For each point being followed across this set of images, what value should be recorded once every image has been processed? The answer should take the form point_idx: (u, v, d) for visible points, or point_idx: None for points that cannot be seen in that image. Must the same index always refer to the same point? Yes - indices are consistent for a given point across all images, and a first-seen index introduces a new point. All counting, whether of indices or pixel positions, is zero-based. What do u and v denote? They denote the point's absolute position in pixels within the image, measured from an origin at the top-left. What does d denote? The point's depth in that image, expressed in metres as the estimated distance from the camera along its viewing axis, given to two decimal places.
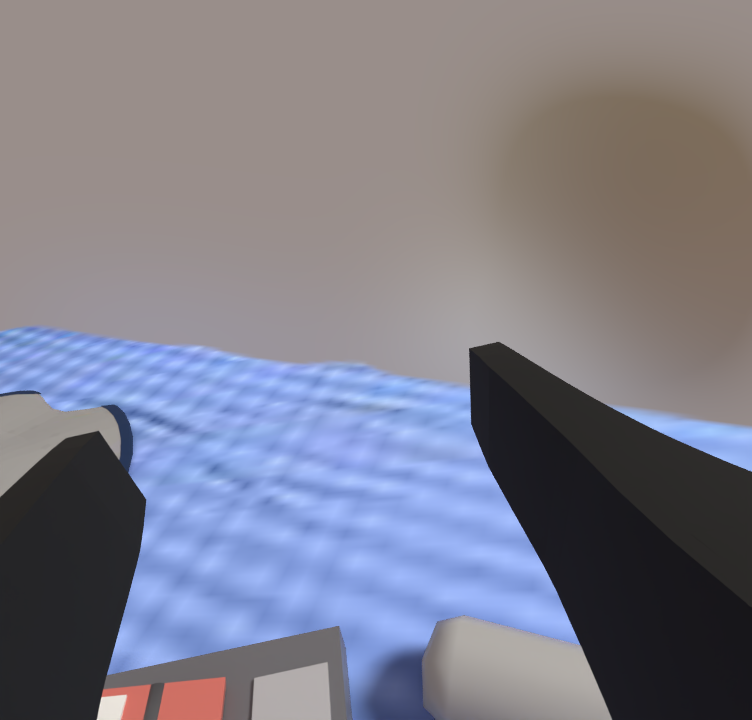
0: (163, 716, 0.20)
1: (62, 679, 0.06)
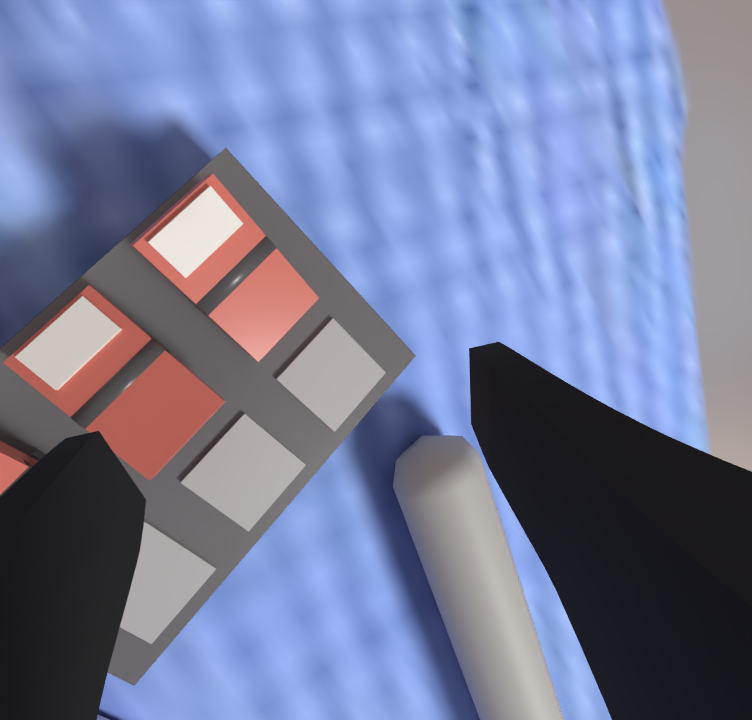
0: (256, 277, 0.17)
1: (62, 679, 0.06)
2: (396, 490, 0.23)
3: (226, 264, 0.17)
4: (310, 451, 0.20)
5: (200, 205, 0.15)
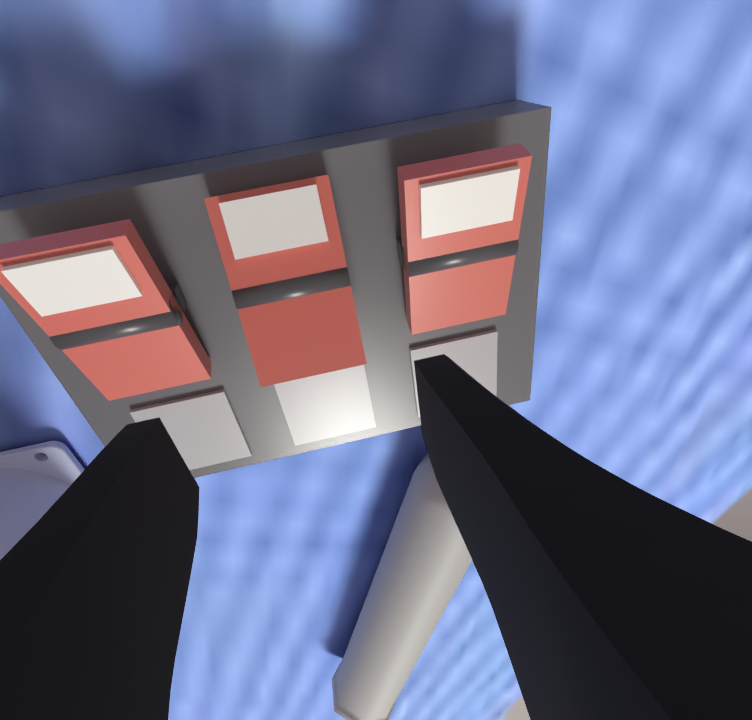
0: (476, 269, 0.15)
1: (141, 659, 0.06)
2: (415, 478, 0.24)
3: (463, 244, 0.14)
4: (387, 418, 0.20)
5: (494, 181, 0.13)
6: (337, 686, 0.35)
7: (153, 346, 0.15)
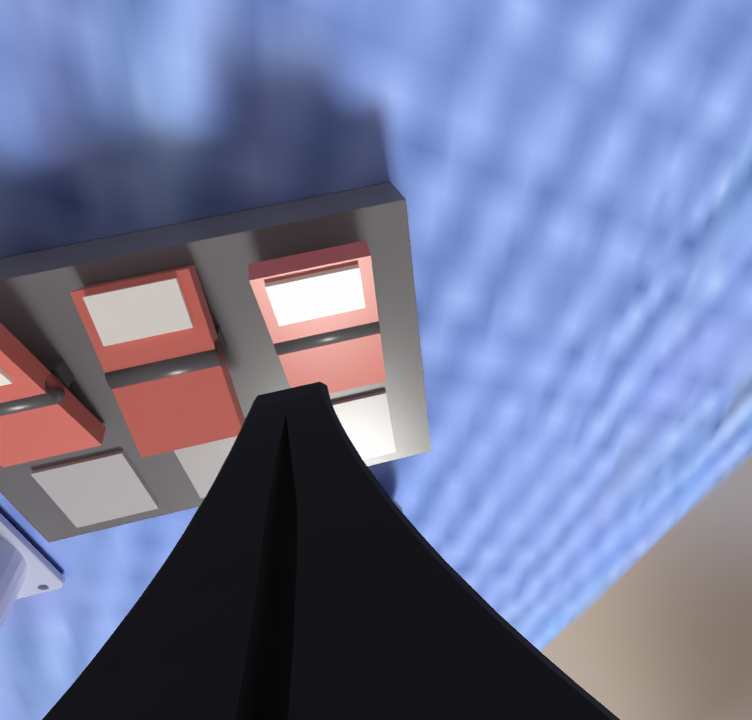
0: (343, 346, 0.16)
1: None
2: None
3: (324, 327, 0.15)
4: None
5: (337, 278, 0.14)
6: None
7: (36, 421, 0.16)
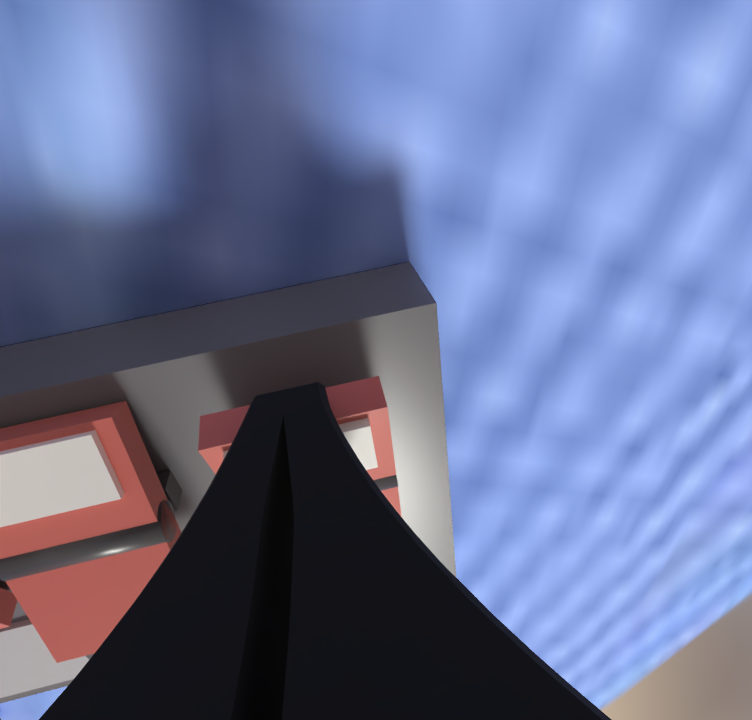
0: None
1: None
2: None
3: None
4: None
5: None
6: None
7: None
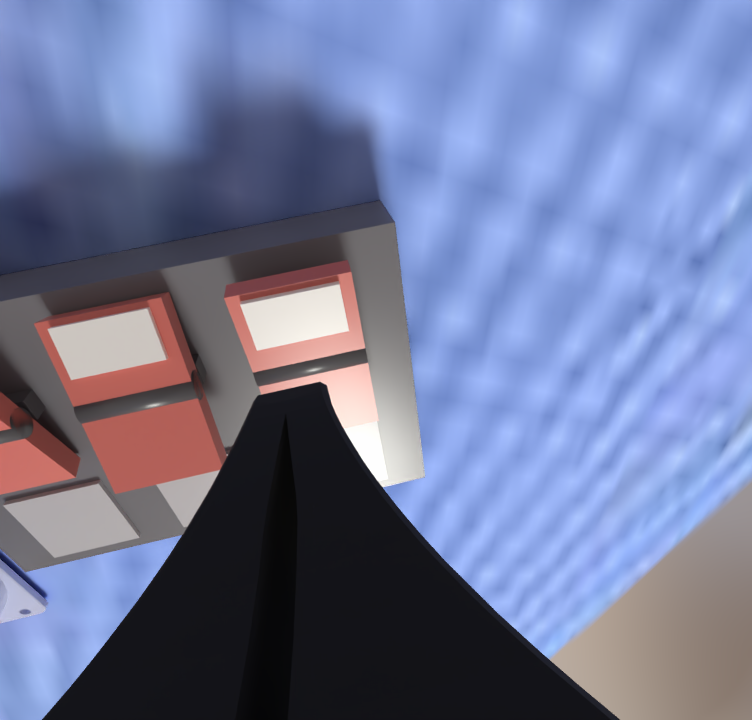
0: (329, 377, 0.15)
1: None
2: None
3: (307, 354, 0.14)
4: None
5: (316, 296, 0.13)
6: None
7: (3, 456, 0.15)
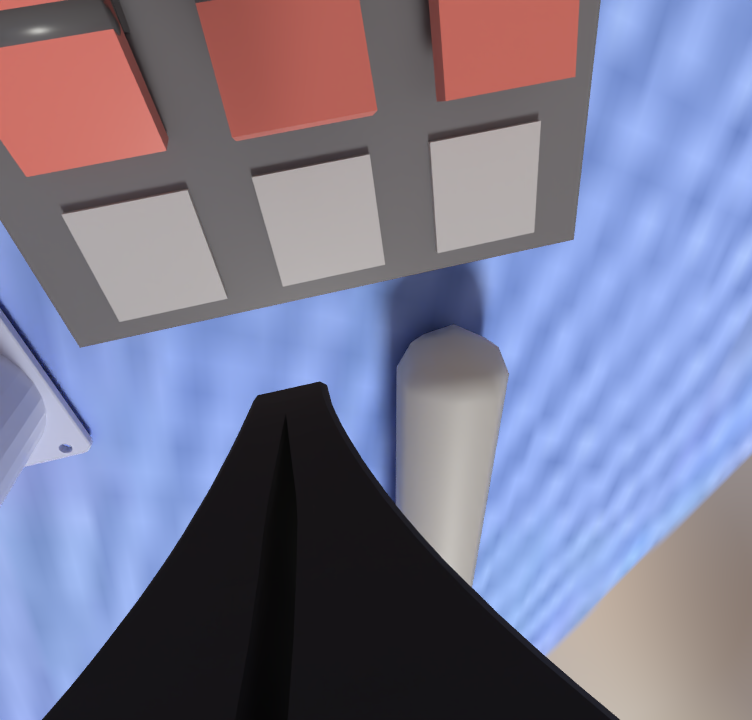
0: None
1: None
2: (398, 372, 0.20)
3: None
4: (398, 254, 0.16)
5: None
6: None
7: (79, 70, 0.10)
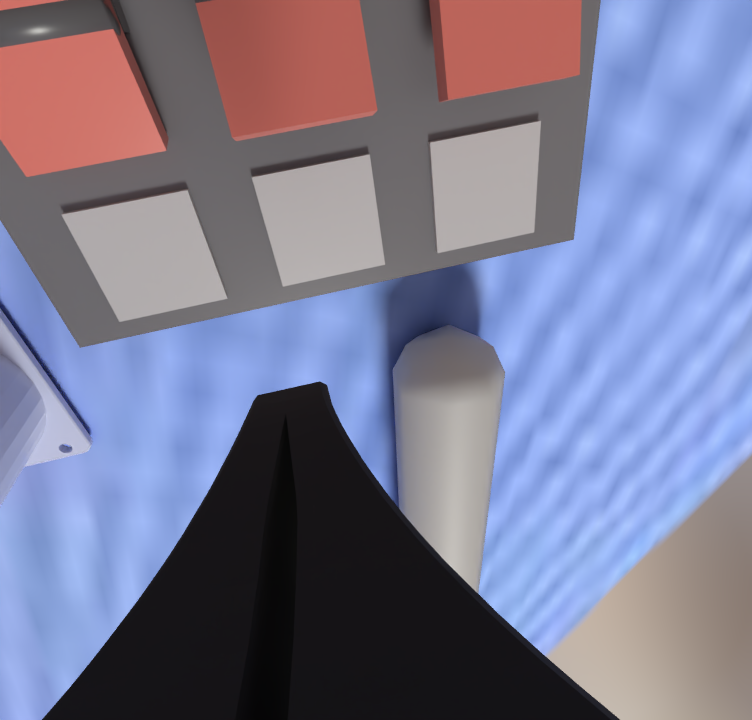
0: None
1: None
2: (394, 375, 0.20)
3: None
4: (398, 254, 0.16)
5: None
6: None
7: (79, 70, 0.10)
